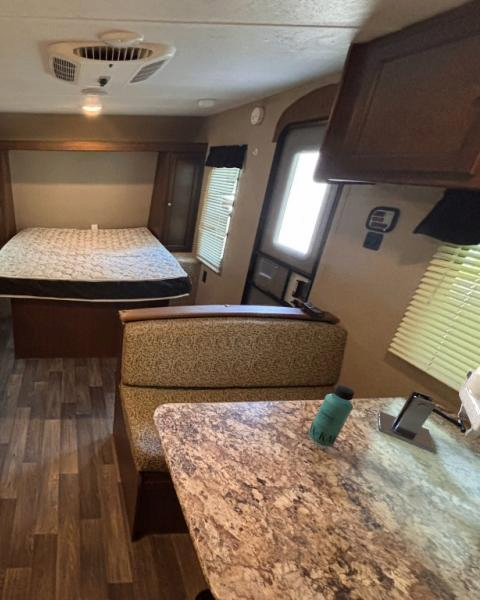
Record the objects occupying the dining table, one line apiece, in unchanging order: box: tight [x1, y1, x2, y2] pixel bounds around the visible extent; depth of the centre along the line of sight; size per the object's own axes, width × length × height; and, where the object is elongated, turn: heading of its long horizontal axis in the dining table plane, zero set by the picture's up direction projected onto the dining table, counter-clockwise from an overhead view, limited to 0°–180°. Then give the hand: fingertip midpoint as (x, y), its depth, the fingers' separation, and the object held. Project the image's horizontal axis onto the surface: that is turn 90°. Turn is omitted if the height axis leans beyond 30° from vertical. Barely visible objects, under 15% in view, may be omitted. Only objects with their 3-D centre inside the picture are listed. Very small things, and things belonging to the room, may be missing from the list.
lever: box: [412, 395, 467, 434], centre depth 92 cm, size 12×5×2 cm, turn 50°
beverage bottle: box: [308, 384, 355, 447], centre depth 90 cm, size 6×7×20 cm
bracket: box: [377, 389, 437, 453], centre depth 96 cm, size 12×10×14 cm
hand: (465, 427), depth 90 cm, fingers open, 8 cm apart
